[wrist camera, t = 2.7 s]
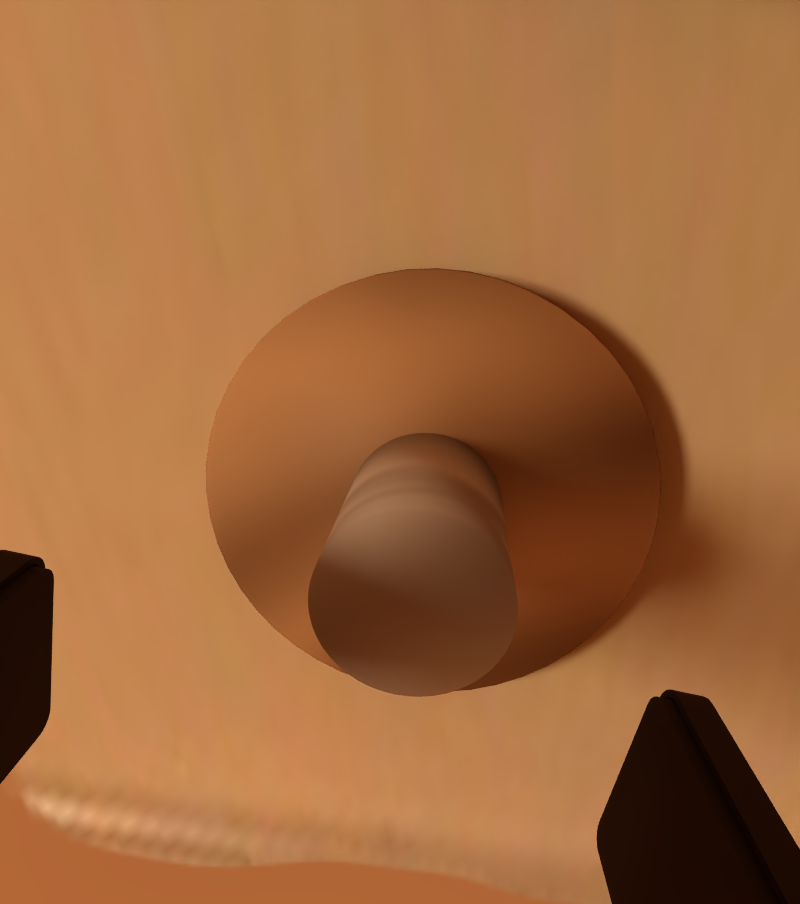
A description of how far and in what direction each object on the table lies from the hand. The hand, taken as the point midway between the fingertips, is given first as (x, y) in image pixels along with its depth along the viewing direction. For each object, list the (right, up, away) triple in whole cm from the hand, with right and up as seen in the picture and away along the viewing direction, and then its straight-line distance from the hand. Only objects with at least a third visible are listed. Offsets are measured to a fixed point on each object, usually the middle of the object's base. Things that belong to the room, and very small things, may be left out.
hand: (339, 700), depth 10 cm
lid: (+2, +3, +8) cm, 9 cm away
